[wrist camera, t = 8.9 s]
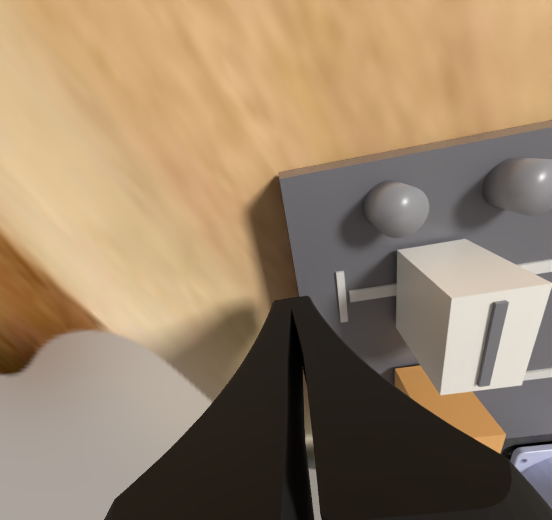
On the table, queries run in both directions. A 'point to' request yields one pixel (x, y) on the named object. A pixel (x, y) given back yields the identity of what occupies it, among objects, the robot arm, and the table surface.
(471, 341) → the fader
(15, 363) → the table surface
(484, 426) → the fader
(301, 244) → the mixer board
